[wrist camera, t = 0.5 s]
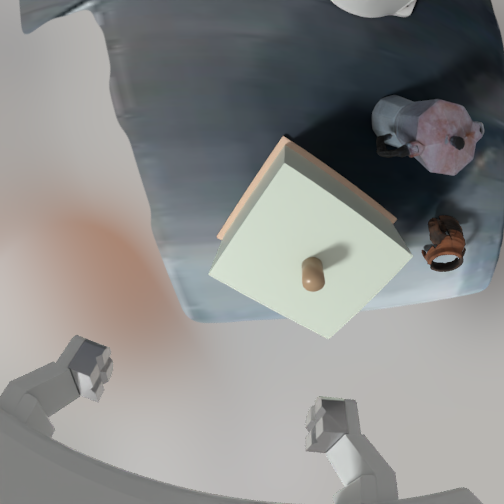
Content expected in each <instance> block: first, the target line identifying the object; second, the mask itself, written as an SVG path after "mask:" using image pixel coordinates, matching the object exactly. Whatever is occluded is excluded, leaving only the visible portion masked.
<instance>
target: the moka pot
mask: <svg viewBox="0 0 504 504" xmlns="http://www.w3.org/2000/svg"><path fill="white" fill-rule="evenodd" d="M372 129H373V131H374V132H375V134H376V135H377V139H376V140H377V141H376V143H377V151H376V152H377V153H378V155H379V156H381V157H387V158H391V157H394V156H399V157H405V156H407V155H408V156H409V157H415V158H416V159H417V160H418V161H419V162H420V163H421V164H422V165H423V166H424V167H425V168H426V169H427V170H428V171H430V172H432V173H440V174H447V175H456V174H457V173H458V172H459V171H460V170H461V169H462V168H464V167H465V166H466V165H467V164H468V163H469V162H470V161H472V159H473V158H474V152H475V145H476V142H477V141H478V140H479V139H480V138H482V136H483V134H484V127H483V124H482V122H475V121H472V120H471V118H470V116H469V114H468V112H467V111H466V109H465V108H464V106H462V105H460V104H456V103H452V102H448V101H445V100H441V99H434V100H425V101H417V102H413V101H411V100H408V99H406V98H403V97H400V96H398V95H391V96H387V97H384V98H382V99H380V101H379V102H378V103H377V104H376V106H375V108H374V110H373V112H372ZM386 144H388V145H391V146H394V147H397V149H395V150H387V148H386Z"/></svg>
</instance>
